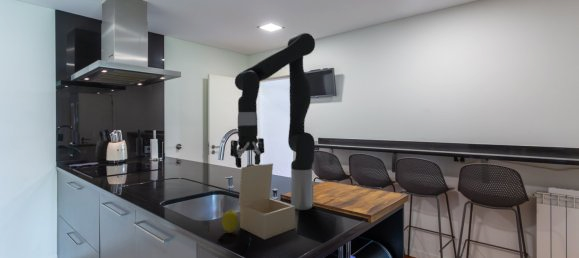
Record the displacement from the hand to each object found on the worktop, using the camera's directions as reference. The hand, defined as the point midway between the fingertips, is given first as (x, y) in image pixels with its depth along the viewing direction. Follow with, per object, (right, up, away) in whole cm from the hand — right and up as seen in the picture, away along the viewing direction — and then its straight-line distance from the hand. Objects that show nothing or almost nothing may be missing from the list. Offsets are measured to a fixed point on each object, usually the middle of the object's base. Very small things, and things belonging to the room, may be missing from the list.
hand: (248, 166), depth 112 cm
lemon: (-4, -22, -12) cm, 25 cm away
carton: (+8, -21, -7) cm, 24 cm away
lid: (+4, -6, -4) cm, 8 cm away
